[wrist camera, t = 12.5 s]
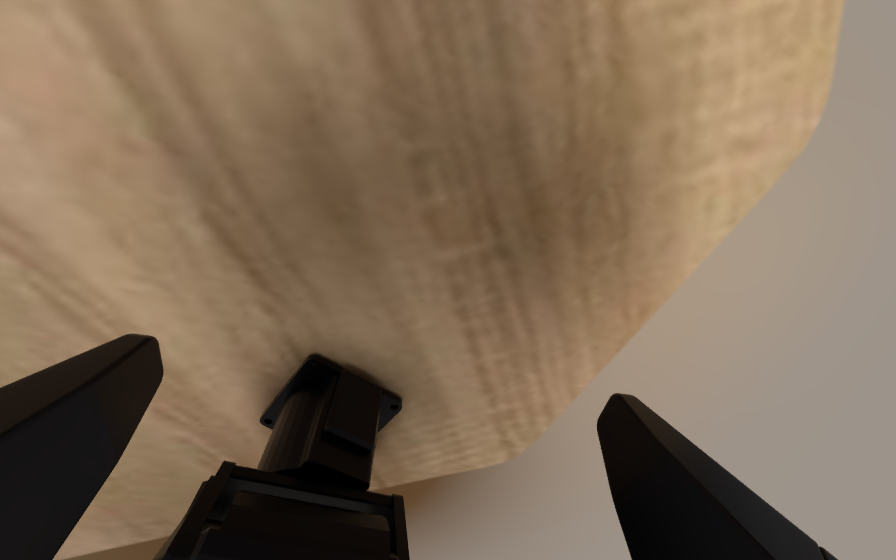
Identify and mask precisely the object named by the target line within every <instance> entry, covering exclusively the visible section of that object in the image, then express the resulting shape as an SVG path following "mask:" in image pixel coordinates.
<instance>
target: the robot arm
mask: <svg viewBox="0 0 896 560" xmlns="http://www.w3.org/2000/svg"><path fill="white" fill-rule="evenodd" d="M312 363H315V364H317V365H313V364H312ZM162 378H163V364H162V359H161V353H160V348H159V343H158V340H157V339H156V338H155V337H153V336H149V335H140V334H127V335H124V336H121V337H119V338H117V339H114V340H112V341H110V342H107V343H105V344H103V345H100V346H98V347H96V348H93V349H91V350H88V351H86V352H84V353H81V354H79V355H77V356H74V357H72V358H70V359H67V360H65V361H63V362H60V363H58V364H55V365H53V366H51V367H48V368H46V369H44V370H41V371H39V372H37V373H34V374H32V375H29V376H27V377H25V378H22V379H20V380H18V381H15V382H13V383H11V384H8V385H6V386H4V387H1V388H0V560H52V559H53V558H54V556H55V555H56V553H57V552H58V550H59V549H60V547H61V546H62V545H63V543H64V542H65V540H66V539H67V537H68V536H69V534H70V533H71V531H72V530H73V528H74V527H75V525H76V524H77V522H78V521H79V519H80V518H81V516H82V515H83V513H84V512H85V511H86V509H87V508H88V506H89V505H90V503H91V502H92V500H93V499H94V497H95V496H96V494H97V493H98V491H99V490H100V488H101V487H102V485H103V484H104V482H105V481H106V479H107V478H108V477H109V475H110V473H111V472H112V470H113V469H114V467H115V466H116V464H117V463H118V461H119V459H120V457H121V456H122V454H123V452H124V450H125V449H126V447H127V445H128V443H129V441H130V439H131V438H132V436H133V434H134V432H135V430H136V428H137V426H138V424H139V423H140V421H141V419H142V417H143V415H144V413H145V411H146V410H147V408H148V406H149V404H150V402H151V400H152V398H153V396H154V395H155V393H156V391H157V389H158V387H159V385H160V383H161V381H162ZM393 404H396V405H393ZM401 409H402V399H401V398H399V397H398V396H396V395H394V394H392V393H390V392H388V391H386V390H384V389H382V388H380V387H378V386H376V385H374V384H373V383H371V382H369V381H367V380H365V379H363V378H361V377H359V376H357V375H355V374H353V373H351V372H349V371H347V370H345V369H343V368H341V367H340V366H338V365H336V364H334V363H332V362H330V361H328V360H326V359H324V358H322V357H320V356H317V355H311V356H309V357H308V358H307V359H306V360H305V361H304V362H303V364H302V365H301V366H300V367H299V369H298V370H297V371H296V372H295V374H294V375H293V376H292V377H291V379H290V380H289V381H288V382H287V384H286V385H285V386H284V387H283V389H282V390H281V391H280V392H279V394H278V395H277V396H276V397H275V399H274V400H273V401H272V402H271V404H270V405H269V406H268V407H267V409H266V410H265V411H264V412H263V414H262V416H261V418H260V423H261V424H262V425H264V426H266V427H268V428H270V429H273V430H272V433H271V435H270V438H269V440H268V443H267V445H266V448H265V450H264V453H263V455H262V458H261V460H260V462H259V465H258V467H257V469H253V468H248V467H243V466H238V465H236V463H234V462H229V461H224V462H223V463H222V465H221V467H220V468H219V470H218V472H217V473H216V475H215V476H211V477H210V479H209V480H208V481H205V482H203V483H202V485H201V487H200V488H199V490H198V492H197V494H196V496H195V498H194V500H193V502H192V504H191V506H190V508H189V509H188V511H187V513H186V515H185V516H184V518H183V519H182V521H181V522H180V524H179V525H178V526H177V528H176V529H175V530H174V532H173V533H172V534H171V536H170V537H169V538H168V540H167V541H166V542H165V544H164V545H163V547H162V548H161V549H160V550H159V552H158V553H157V554H156V556H155V557H154V558H153V560H410V559H409V549H408V539H407V531H406V520H405V510H404V500H403V496H401V495H396V494H392V495H385V494H380V493H375V492H370V491H368V490H369V486H370V480H371V472H372V464H373V457H374V449H375V447H376V439H377V433H378V432H379V431H380V430H381V429H382V428H383V427H384V426H385V425H386V424H387V423H388V422H389V421H390V420H391V419H392V418H393V417H394V416H395V415H396V414H397V413H398V412H399V411H400V410H401ZM597 431H598V436H599V441H600V445H601V450H602V454H603V459H604V463H605V468H606V472H607V477H608V481H609V485H610V490H611V494H612V498H613V502H614V505H615V508H616V512H617V515H618V518H619V521H620V524H621V527H622V530H623V533H624V537H625V540H626V542H627V546H628V549H629V552H630V555H631V558H632V560H838V559H836V558H835V557H834V556H833V555H831V554H830V553H829V552H828V551H826V550H825V549H824V548H822V547H819V546H818V544H817V543H816V542H815V541H814V540H813V539H811V538H810V537H809V536H808V535H806V534H805V533H804V532H803V531H801V530H800V529H799V528H798V527H796V526H795V525H794V524H793V523H792V522H790V521H789V520H788V519H787V518H785V517H784V516H783V515H782V514H780V513H779V512H778V511H776V510H775V509H774V508H773V507H772V506H770V505H769V504H768V503H766V502H765V501H764V500H763V499H762V498H760V497H759V496H758V495H757V494H755V493H754V492H753V491H752V490H750V489H749V488H748V487H747V486H746V485H744V484H743V483H741V482H740V481H739V480H738V479H737V478H736V477H734V476H733V475H732V474H731V473H729V472H728V471H727V470H726V469H724V468H723V467H722V466H721V465H719V464H718V463H717V462H715V461H714V460H713V459H712V458H711V457H709V456H708V455H707V454H706V453H704V452H703V451H702V450H701V449H699V448H698V447H697V446H696V445H694V444H693V443H692V442H691V441H690V440H688V439H687V438H686V437H685V436H683V435H682V434H681V433H680V432H678V431H677V430H676V429H674V428H673V427H672V426H671V425H670V424H668V423H667V422H666V421H665V420H663V419H662V418H661V417H660V416H658V415H657V414H656V413H655V412H653V411H652V410H651V409H650V408H649V407H647V406H646V405H645V404H644V403H642V402H641V401H640V400H639V399H637V398H636V397H635V396H633V395H627V394H620V393H615V394H613V395H612V396H611V397H610V399H609V400H608V402H607V404H606V405H605V407H604V409H603V411H602V412H601V414H600V416H599V418H598V421H597Z"/></svg>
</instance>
